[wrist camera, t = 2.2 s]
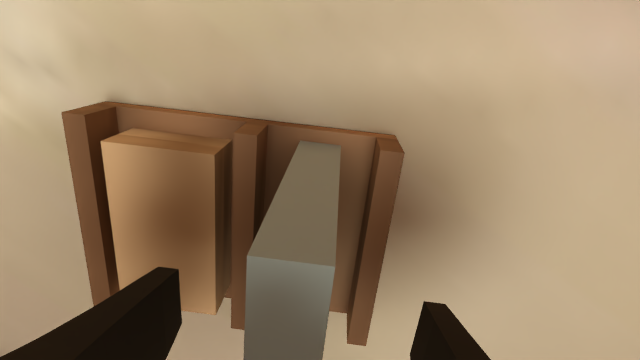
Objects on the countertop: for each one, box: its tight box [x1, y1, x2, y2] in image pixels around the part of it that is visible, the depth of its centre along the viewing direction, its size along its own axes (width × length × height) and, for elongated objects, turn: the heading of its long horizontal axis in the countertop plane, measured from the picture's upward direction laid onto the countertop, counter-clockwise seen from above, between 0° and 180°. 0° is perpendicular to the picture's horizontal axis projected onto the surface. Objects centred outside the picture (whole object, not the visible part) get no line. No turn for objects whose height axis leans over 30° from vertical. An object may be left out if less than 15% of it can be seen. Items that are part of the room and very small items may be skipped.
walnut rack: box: [62, 102, 404, 346], centre depth 15 cm, size 12×9×2 cm
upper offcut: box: [101, 134, 224, 315], centre depth 14 cm, size 4×7×1 cm, turn 174°
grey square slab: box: [244, 141, 341, 360], centre depth 11 cm, size 2×8×8 cm, turn 174°
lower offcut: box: [119, 128, 232, 298], centre depth 15 cm, size 4×7×1 cm, turn 174°
